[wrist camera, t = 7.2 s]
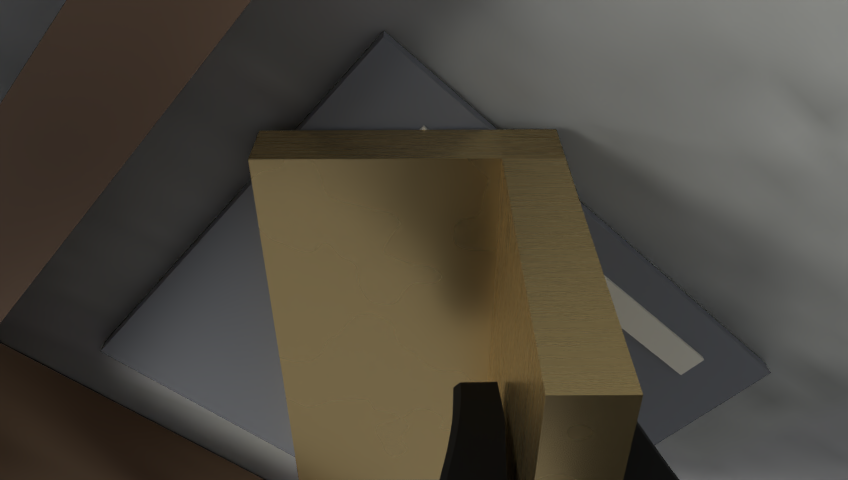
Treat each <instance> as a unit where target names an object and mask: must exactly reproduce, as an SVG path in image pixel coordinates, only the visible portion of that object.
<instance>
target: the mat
mask: <svg viewBox="0 0 848 480" xmlns="http://www.w3.org/2000/svg"><path fill="white" fill-rule="evenodd" d="M302 130H497V129H496V128H495V127H494V126H493V125H492V124H491V123H489V122H488V121H487V120H486V119H485V118H484V117H482V116H481V115H480V114H479V113H478V112H477V111H476V110H474V109H473V108H472V107H471V106H470V105H469V104H468V103H466V102H465V101H464V100H463V99H462V98H461V97H460V96H458V95H457V94H456V93H455V92H454V91H453V90H452V89H450V88H449V87H448V86H447V85H446V84H445V83H443V82H442V81H441V80H440V79H439V78H438V77H437V76H435V75H434V74H433V73H432V72H431V71H430V70H429V69H427V68H426V67H425V66H424V65H423V64H422V63H421V62H419V61H418V60H417V59H416V58H415V57H414V56H413V55H411V54H410V53H409V52H408V51H407V50H406V49H404V48H403V47H402V46H401V45H400V44H399V43H398V42H396V41H395V40H394V39H393V38H392V37H391V36H390V35H388V34H387V33H386V32H385V31H383V33H382V34H381V35H380V36H379V37H378V38H377V39H376V40H375V41H374V43H373V44H372V45H371V46H370V47H369V48H368V49H367V50H366V52H365V53H364V54H363V55H362V56H361V57H360V58H359V59H358V60H357V62H356V63H355V64H354V65H353V66H352V67H351V68H350V69H349V70H348V72H347V73H346V74H345V75H344V76H343V77H342V78H341V79H340V81H339V82H338V83H337V84H336V85H335V86H334V87H333V88H332V89H331V91H330V92H329V93H328V94H327V95H326V96H325V97H324V98H323V99H322V101H321V102H320V103H319V104H318V105H317V106H316V107H315V108H314V110H313V111H312V112H311V113H310V114H309V115H308V116H307V117H306V118H305V120H304V121H303V122H302V123H301V124H300V125H299V126H298V127H297V128H296V130H295V131H302ZM580 204H581V207H582V210H583V213H584V216H585V219H586V222H587V225H588V228H589V231H590V234H591V237H592V240H593V243H594V246H595V249H596V252H597V255H598V258H599V261H600V265H601V268H602V271H603V274H604V277H605V280H606V283H607V286H608V289H609V292H610V295H611V298H612V301H613V304H614V307H615V310H616V313H617V316H618V319H619V322H620V325H621V329H622V332H623V335H624V338H625V341H626V344H627V347H628V350H629V353H630V356H631V359H632V362H633V365H634V368H635V371H636V374H637V377H638V380H639V383H640V386H641V389H642V393H643V398H642V403H641V407H640V411H639V415H638V419H637V421H638V423H639V424H640V426H641V427H642V429H643V430H644V432H645V433H646V435H647V436H648V437H649V439H650V440H651V442H652V443H653V445H655V444H657V443H659V442H660V441H662V440H663V439H665V438H667V437H668V436H670V435H672V434H673V433H675V432H676V431H678V430H680V429H681V428H683V427H684V426H686V425H688V424H689V423H691V422H692V421H694V420H696V419H697V418H699V417H700V416H702V415H704V414H705V413H707V412H709V411H710V410H712V409H713V408H715V407H717V406H718V405H720V404H721V403H723V402H725V401H726V400H728V399H729V398H731V397H733V396H734V395H736V394H738V393H739V392H741V391H742V390H744V389H746V388H747V387H749V386H750V385H752V384H754V383H755V382H757V381H758V380H760V379H762V378H763V377H765V376H766V375H768V374H770V373H771V372H770V371H769V369H768V367H767V365H766V363H765V362H763V361H762V360H761V359H760V358H759V357H758V356H757V355H755V354H754V353H753V352H752V351H751V350H750V349H749V348H747V347H746V346H745V345H744V344H743V343H742V342H741V341H739V340H738V339H737V338H736V337H735V336H734V335H733V334H731V333H730V332H729V331H728V330H727V329H726V328H724V327H723V326H722V325H721V324H720V323H719V322H718V321H716V320H715V319H714V318H713V317H712V316H711V315H710V314H708V313H707V312H706V311H705V310H704V309H703V308H702V307H700V306H699V305H698V304H697V303H696V302H695V301H694V300H692V299H691V298H690V297H689V296H688V295H687V294H685V293H684V292H683V291H682V290H681V289H680V288H679V287H677V286H676V285H675V284H674V283H673V282H672V281H671V280H669V279H668V278H667V277H666V276H665V275H664V274H663V273H661V272H660V271H659V270H658V269H657V268H656V267H655V266H653V265H652V264H651V263H650V262H649V261H648V260H646V259H645V258H644V257H643V256H642V255H641V254H640V253H638V252H637V251H636V250H635V249H634V248H633V247H632V246H630V245H629V244H628V243H627V242H626V241H625V240H624V239H622V238H621V237H620V236H619V235H618V234H617V233H616V232H614V231H613V230H612V229H611V228H610V227H609V226H607V225H606V224H605V223H604V222H603V221H602V220H601V219H599V218H598V217H597V216H596V215H595V214H594V213H593V212H591V211H590V210H589V209H588V208H587V207H586V206H585V205H583V204H582V203H581V202H580ZM101 352H102V353H104V354H106V355H108V356H110V357H112V358H113V359H115V360H117V361H119V362H121V363H123V364H125V365H126V366H128V367H130V368H132V369H134V370H136V371H137V372H139V373H141V374H143V375H145V376H147V377H148V378H150V379H152V380H154V381H156V382H158V383H160V384H161V385H163V386H165V387H167V388H169V389H171V390H172V391H174V392H176V393H178V394H180V395H182V396H183V397H185V398H187V399H189V400H191V401H193V402H195V403H196V404H198V405H200V406H202V407H204V408H206V409H207V410H209V411H211V412H213V413H215V414H217V415H218V416H220V417H222V418H224V419H226V420H228V421H230V422H231V423H233V424H235V425H237V426H239V427H241V428H242V429H244V430H246V431H248V432H250V433H252V434H253V435H255V436H257V437H259V438H261V439H263V440H265V441H266V442H268V443H270V444H272V445H274V446H276V447H277V448H279V449H281V450H283V451H285V452H287V453H288V454H290V455H292V456H294V457H295V452H294V446H293V439H292V433H291V427H290V420H289V414H288V408H287V401H286V395H285V389H284V383H283V376H282V370H281V364H280V357H279V351H278V345H277V338H276V332H275V326H274V320H273V313H272V307H271V301H270V294H269V288H268V282H267V275H266V269H265V263H264V257H263V250H262V244H261V238H260V231H259V225H258V219H257V212H256V206H255V200H254V194H253V187H252V181H251V180H250V181H249V182H248V183H247V184H246V185H245V186H244V188H243V189H242V190H241V191H240V192H239V193H238V194H237V195H236V196H235V198H234V199H233V200H232V201H231V202H230V203H229V204H228V205H227V207H226V208H225V209H224V210H223V211H222V212H221V213H220V214H219V215H218V217H217V218H216V219H215V220H214V221H213V222H212V223H211V224H210V225H209V227H208V228H207V229H206V230H205V231H204V232H203V233H202V234H201V236H200V237H199V238H198V239H197V240H196V241H195V242H194V243H193V244H192V246H191V247H190V248H189V249H188V250H187V251H186V252H185V253H184V254H183V256H182V257H181V258H180V259H179V260H178V261H177V262H176V263H175V264H174V266H173V267H172V268H171V269H170V270H169V271H168V272H167V273H166V275H165V276H164V277H163V278H162V279H161V280H160V281H159V282H158V283H157V285H156V286H155V287H154V288H153V289H152V290H151V291H150V292H149V293H148V295H147V296H146V297H145V298H144V299H143V300H142V301H141V302H140V304H139V305H138V306H137V307H136V308H135V309H134V310H133V311H132V312H131V314H130V315H129V316H128V317H127V318H126V319H125V320H124V321H123V322H122V324H121V325H120V326H119V327H118V328H117V329H116V330H115V331H114V333H113V334H112V335H111V336H110V337H109V338H108V339H107V340H106V341H105V343H104V345H103V347H102V349H101Z"/></svg>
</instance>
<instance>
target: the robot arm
mask: <svg viewBox="0 0 848 480" xmlns="http://www.w3.org/2000/svg"><path fill="white" fill-rule="evenodd" d="M439 480H507V469H506V440H505V417H504V412H503V407H502V401H501V397H500V392H499V387H498V383H497V382H460V383H459V384H457V385H456V386H454V387H453V415H452V425H451V431H450V436H449V442H448V447H447V452H446V456H445V460H444V464H443V468H442V472H441V475H440V479H439ZM623 480H679V479H678V477H677V476H676V475H675V473H674V472H673V471H672V470H671V468H670V467H669V466H668V464H667V463H666V461H665V460H664V459H663V457H662V456H661V455H660V453H659V452H658V450H657V449H656V447H655V446H654V445H653V443H652V442H651V440H650V439H649V437H648V436H647V435H646V433H645V432H644V430H643V429H642V427H641V426H640V424H639V423H638V421H637V424H636V428H635V432H634V436H633V440H632V444H631V449H630V453H629V457H628V461H627V465H626V470H625V474H624V478H623Z"/></svg>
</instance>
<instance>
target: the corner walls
mask: <svg viewBox="0 0 848 480" xmlns="http://www.w3.org/2000/svg"><path fill="white" fill-rule="evenodd" d="M250 1H251V0H66V2H65V3H64V5H63V6H62V8H61V10H60V11H59V13H58V14H57V16H56V17H55V19H54V20H53V22H52V24H51V25H50V27H49V28H48V30H47V31H46V33H45V35H44V36H43V38H42V39H41V41H40V42H39V44H38V45H37V47H36V49H35V50H34V52H33V53H32V55H31V56H30V58H29V60H28V61H27V63H26V64H25V66H24V67H23V69H22V70H21V72H20V74H19V75H18V77H17V78H16V80H15V81H14V83H13V85H12V86H11V88H10V89H9V91H8V92H7V94H6V95H5V97H4V99H3V100H2V102H1V103H0V323H1V322H2V320H3V319H4V318H5V316H6V315H7V314H8V313H9V311H10V310H11V309H12V307H13V306H14V305H15V304H16V302H17V301H18V300H19V298H20V297H21V296H22V295H23V293H24V292H25V291H26V289H27V288H28V287H29V286H30V284H31V283H32V282H33V280H34V279H35V278H36V277H37V275H38V274H39V273H40V271H41V270H42V269H43V268H44V266H45V265H46V264H47V262H48V261H49V260H50V259H51V257H52V256H53V255H54V253H55V252H56V251H57V250H58V248H59V247H60V246H61V244H62V243H63V242H64V241H65V239H66V238H67V237H68V235H69V234H70V233H71V232H72V230H73V229H74V228H75V226H76V225H77V224H78V223H79V221H80V220H81V219H82V217H83V216H84V215H85V214H86V212H87V211H88V210H89V208H90V207H91V206H92V205H93V203H94V202H95V201H96V199H97V198H98V197H99V196H100V194H101V193H102V192H103V190H104V189H105V188H106V187H107V185H108V184H109V183H110V181H111V180H112V179H113V178H114V176H115V175H116V174H117V172H118V171H119V170H120V169H121V167H122V166H123V165H124V163H125V162H126V161H127V160H128V158H129V157H130V156H131V154H132V153H133V152H134V151H135V149H136V148H137V147H138V145H139V144H140V143H141V142H142V140H143V139H144V138H145V136H146V135H147V134H148V133H149V131H150V130H151V129H152V127H153V126H154V125H155V124H156V122H157V121H158V120H159V118H160V117H161V116H162V115H163V113H164V112H165V111H166V109H167V108H168V107H169V106H170V104H171V103H172V102H173V100H174V99H175V98H176V97H177V95H178V94H179V93H180V91H181V90H182V89H183V88H184V86H185V85H186V84H187V82H188V81H189V80H190V79H191V77H192V76H193V75H194V73H195V72H196V71H197V70H198V68H199V67H200V66H201V64H202V63H203V62H204V61H205V59H206V58H207V57H208V55H209V54H210V53H211V52H212V50H213V49H214V48H215V46H216V45H217V44H218V43H219V41H220V40H221V39H222V37H223V36H224V35H225V34H226V32H227V31H228V30H229V28H230V27H231V26H232V25H233V23H234V22H235V21H236V19H237V18H238V17H239V16H240V14H241V13H242V12H243V10H244V9H245V8H246V7H247V5H248V4H249V3H250ZM0 480H264V479H262V478H260V477H258V476H256V475H254V474H252V473H251V472H249V471H247V470H245V469H243V468H241V467H239V466H237V465H235V464H233V463H231V462H229V461H227V460H225V459H224V458H222V457H220V456H218V455H216V454H214V453H212V452H210V451H208V450H206V449H204V448H202V447H200V446H198V445H196V444H195V443H193V442H191V441H189V440H187V439H185V438H183V437H181V436H179V435H177V434H175V433H173V432H171V431H169V430H167V429H166V428H164V427H162V426H160V425H158V424H156V423H154V422H152V421H150V420H148V419H146V418H144V417H142V416H140V415H139V414H137V413H135V412H133V411H131V410H129V409H127V408H125V407H123V406H121V405H119V404H117V403H115V402H113V401H111V400H110V399H108V398H106V397H104V396H102V395H100V394H98V393H96V392H94V391H92V390H90V389H88V388H86V387H84V386H82V385H81V384H79V383H77V382H75V381H73V380H71V379H69V378H67V377H65V376H63V375H61V374H59V373H57V372H55V371H53V370H52V369H50V368H48V367H46V366H44V365H42V364H40V363H38V362H36V361H34V360H32V359H30V358H28V357H26V356H25V355H23V354H21V353H19V352H17V351H15V350H13V349H11V348H9V347H7V346H5V345H3V344H1V343H0Z"/></svg>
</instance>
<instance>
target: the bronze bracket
mask: <svg viewBox="0 0 848 480" xmlns="http://www.w3.org/2000/svg"><path fill="white" fill-rule="evenodd" d="M248 162H249V168H250V175H251V181H252V187H253V194H254V200H255V206H256V212H257V219H258V225H259V231H260V238H261V244H262V250H263V257H264V263H265V269H266V275H267V282H268V288H269V294H270V301H271V307H272V313H273V320H274V326H275V332H276V338H277V345H278V351H279V357H280V364H281V370H282V376H283V383H284V389H285V395H286V401H287V408H288V414H289V420H290V427H291V433H292V439H293V446H294V452H295V458H296V464H297V471H298V477H299V480H439V479H440V475H441V472H442V468H443V464H444V460H445V456H446V452H447V447H448V442H449V436H450V431H451V425H452V415H453V387H454V386H456V385H457V384H459V383H460V382H497V383H498V387H499V392H500V397H501V401H502V407H503V412H504V417H505V440H506V469H507V480H623V478H624V474H625V470H626V465H627V461H628V457H629V453H630V449H631V444H632V440H633V436H634V432H635V428H636V424H637V419H638V415H639V411H640V407H641V403H642V398H643V393H642V389H641V386H640V383H639V380H638V377H637V374H636V371H635V368H634V365H633V362H632V359H631V356H630V353H629V350H628V347H627V344H626V341H625V338H624V335H623V332H622V329H621V325H620V322H619V319H618V316H617V313H616V310H615V307H614V304H613V301H612V298H611V295H610V292H609V289H608V286H607V283H606V280H605V277H604V274H603V271H602V268H601V265H600V261H599V258H598V255H597V252H596V249H595V246H594V243H593V240H592V237H591V234H590V231H589V228H588V225H587V222H586V219H585V216H584V213H583V210H582V207H581V204H580V201H579V198H578V194H577V191H576V188H575V185H574V182H573V179H572V176H571V173H570V170H569V167H568V164H567V161H566V158H565V155H564V152H563V149H562V146H561V143H560V140H559V137H558V134H557V130H556V129H526V130H302V131H259V133H258V136H257V138H256V141H255V143H254V146H253V148H252V151H251V153H250V156H249V159H248Z"/></svg>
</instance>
